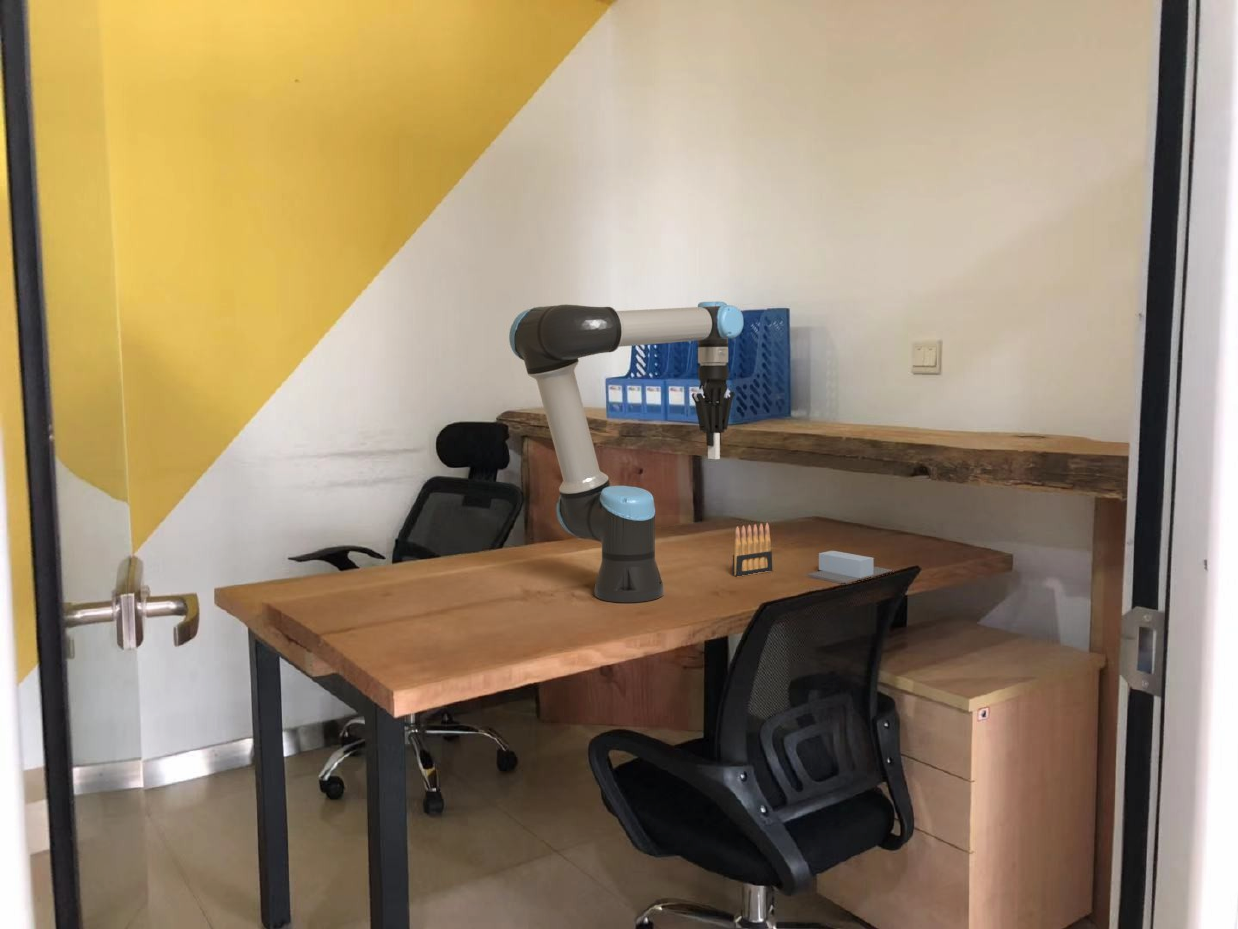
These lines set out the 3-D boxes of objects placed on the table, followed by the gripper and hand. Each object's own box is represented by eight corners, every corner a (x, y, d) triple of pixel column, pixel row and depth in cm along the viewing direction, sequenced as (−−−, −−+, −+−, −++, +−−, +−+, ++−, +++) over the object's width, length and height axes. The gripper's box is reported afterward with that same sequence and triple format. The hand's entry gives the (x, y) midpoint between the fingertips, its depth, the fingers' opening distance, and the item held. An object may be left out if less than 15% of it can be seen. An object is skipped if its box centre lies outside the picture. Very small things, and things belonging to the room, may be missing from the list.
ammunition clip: (736, 577, 223) (736, 527, 222) (732, 575, 225) (731, 526, 223) (772, 571, 228) (772, 522, 227) (767, 570, 230) (767, 521, 229)
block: (818, 569, 226) (860, 578, 217) (818, 553, 226) (860, 561, 217) (832, 566, 230) (873, 574, 220) (832, 550, 229) (873, 557, 220)
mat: (845, 584, 214) (845, 582, 214) (807, 576, 222) (807, 574, 222) (893, 572, 225) (893, 570, 225) (855, 565, 233) (855, 563, 233)
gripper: (704, 364, 228) (705, 461, 231) (742, 364, 237) (742, 457, 239) (683, 365, 234) (684, 459, 237) (721, 364, 242) (721, 455, 245)
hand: (713, 458), depth 238 cm, fingers closed
